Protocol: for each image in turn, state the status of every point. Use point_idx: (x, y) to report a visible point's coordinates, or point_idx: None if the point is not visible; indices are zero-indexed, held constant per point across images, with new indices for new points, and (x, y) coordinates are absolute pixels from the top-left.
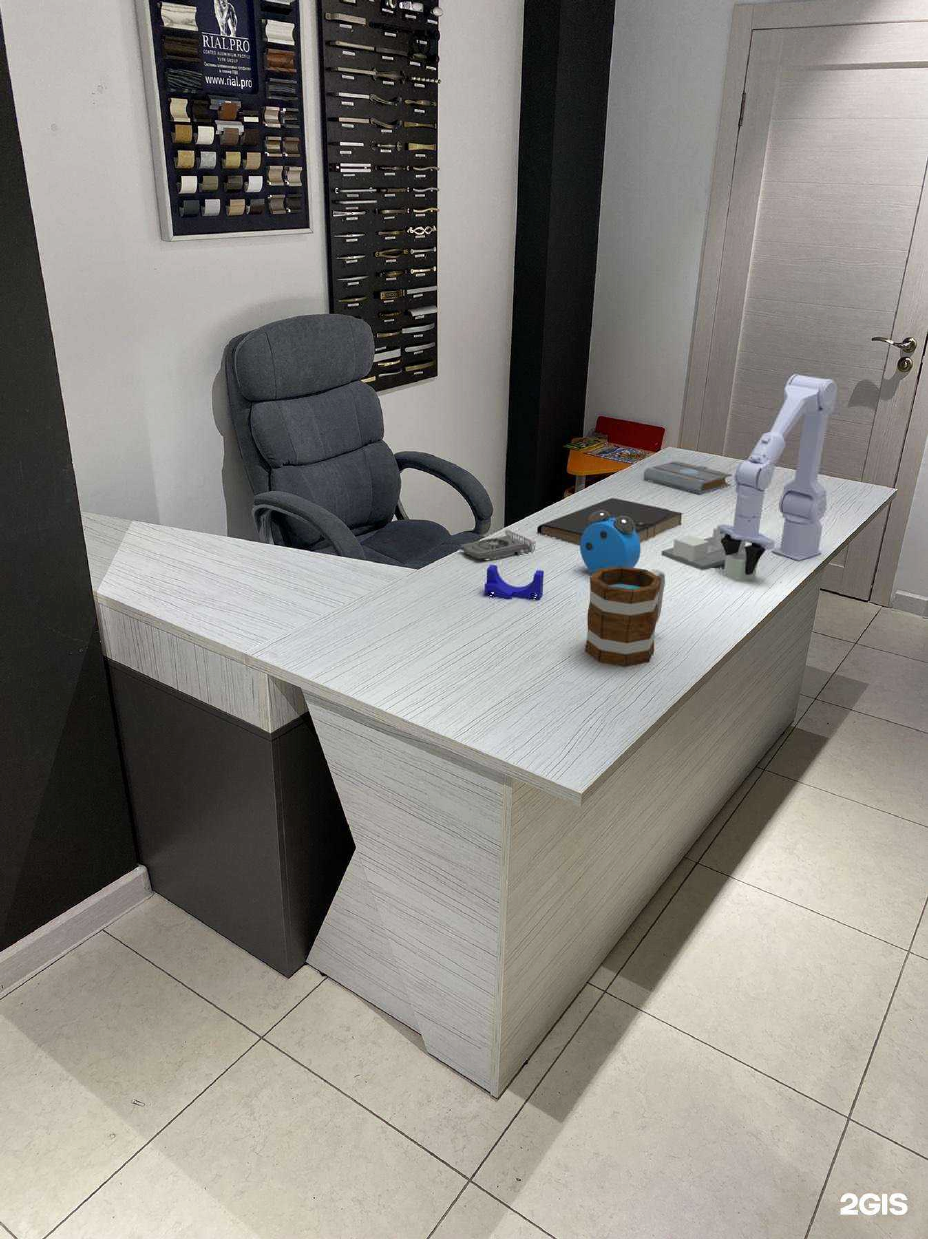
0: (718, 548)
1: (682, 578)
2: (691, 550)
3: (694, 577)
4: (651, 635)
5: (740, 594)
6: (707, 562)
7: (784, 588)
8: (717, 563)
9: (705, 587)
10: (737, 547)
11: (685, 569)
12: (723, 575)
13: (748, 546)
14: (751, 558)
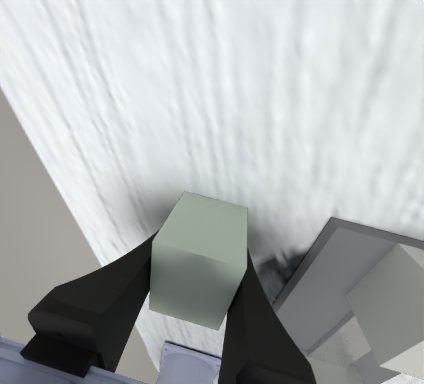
0: (328, 348)
1: (409, 65)
2: None
3: (345, 126)
4: None
5: (108, 76)
6: (331, 262)
7: (82, 217)
8: (298, 275)
9: (255, 31)
10: (226, 340)
11: (407, 188)
12: (246, 209)
13: (82, 334)
14: (108, 265)
